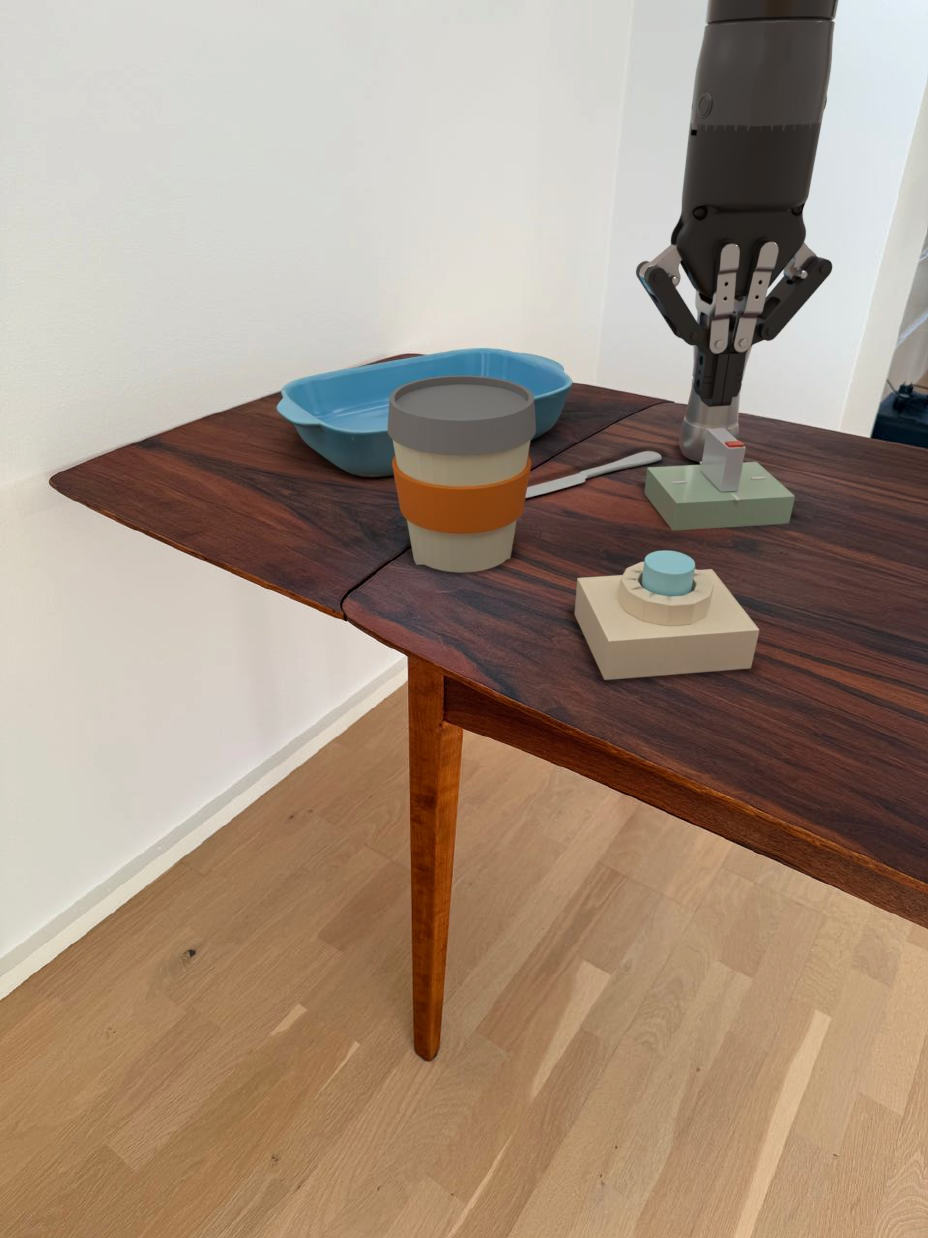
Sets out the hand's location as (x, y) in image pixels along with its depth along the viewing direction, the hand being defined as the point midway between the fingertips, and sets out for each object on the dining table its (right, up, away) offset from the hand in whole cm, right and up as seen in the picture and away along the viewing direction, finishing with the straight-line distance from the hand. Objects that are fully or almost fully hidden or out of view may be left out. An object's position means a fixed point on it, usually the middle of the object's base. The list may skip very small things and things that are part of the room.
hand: (714, 402), depth 60 cm
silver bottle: (+10, +3, +39) cm, 41 cm away
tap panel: (+8, -4, +28) cm, 29 cm away
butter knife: (-5, 0, +34) cm, 34 cm away
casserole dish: (-22, +7, +45) cm, 50 cm away
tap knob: (+8, -1, +26) cm, 27 cm away
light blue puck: (-3, -13, +3) cm, 13 cm away
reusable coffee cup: (-18, -10, +19) cm, 28 cm away
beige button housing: (-3, -17, +6) cm, 19 cm away
